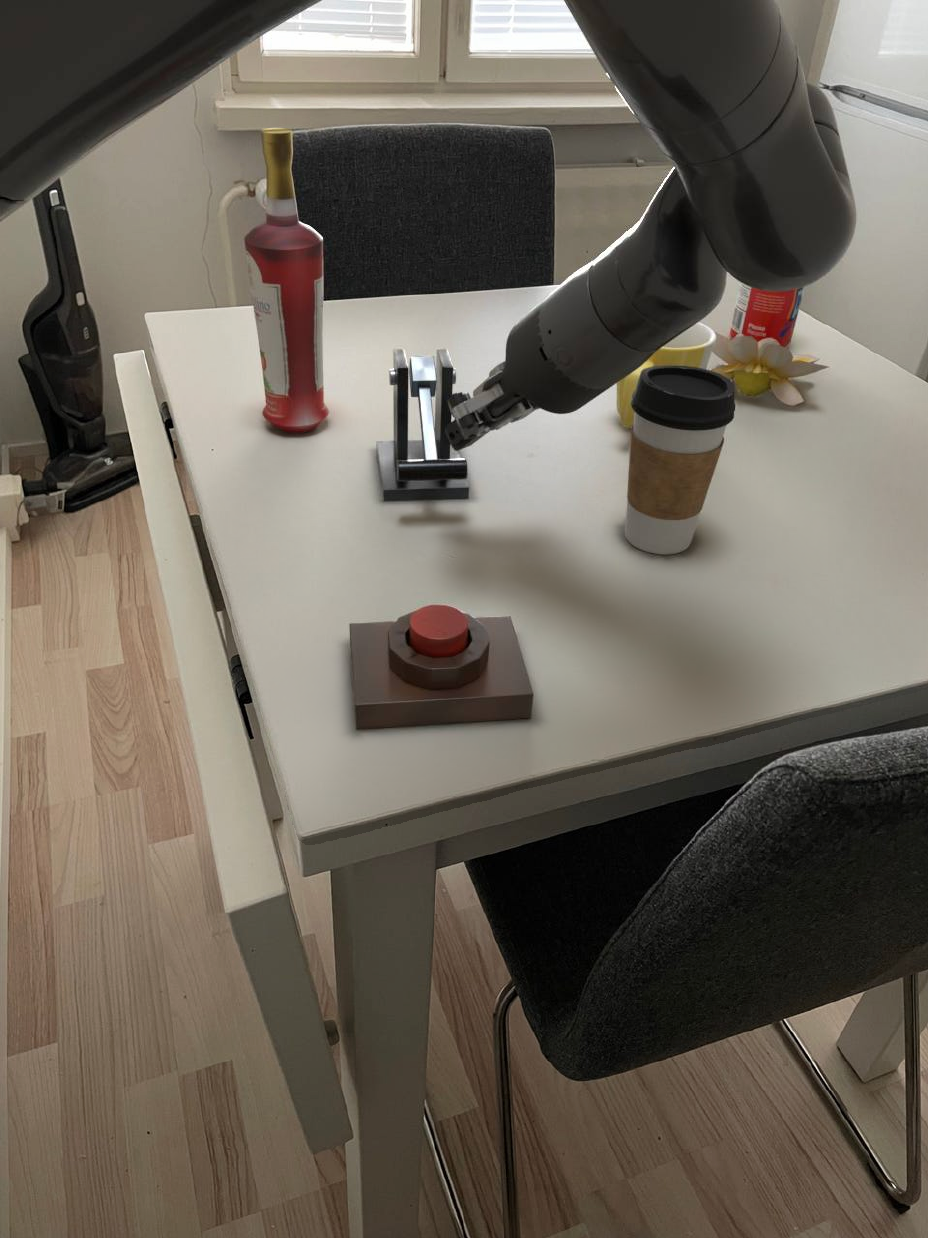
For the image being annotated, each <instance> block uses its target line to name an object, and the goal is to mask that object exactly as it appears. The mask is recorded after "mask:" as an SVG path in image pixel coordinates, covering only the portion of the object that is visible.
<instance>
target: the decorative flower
mask: <svg viewBox="0 0 928 1238" xmlns="http://www.w3.org/2000/svg"><path fill="white" fill-rule="evenodd" d="M714 333H715V334H716V341H715V344H714V347H713V350H712V353H713V354H714V355H715V356H716V357H718V358H719V359H720V360H722V361H723V362H725V363H726V365H722V366H718V367H716V368H712V369H709V370H710V371H713V372H716V373H719V374H721V375H723V376H725V377H727V378H728V379H729V380H731V381H732V380H733V381H734V383H735V385H736V387H737V389H738V391H739V392H740V393H741V394H743V395H745V396H747V397H753V398H757V397H758V396H761V395H762V394H764V393H766V392H768V391H769V390H771V391H772V392H773V394H774V395H775V397H776V398H777V399H778V400H779V401H780V402H782V403H784V404H785V405H789V406H795V405H798V404H801V403H803V402H804V399H803V397H802V395H801V393H800V392H799V390H798V389H797V388H796V386H795V385H794V383H793V382H792V380H790V379H794V378H795V379H797V378H800V377H805V376H809V375H811V374H814V373H816V372H820V371H823V370H824V369H828V368H830V366H828V365H824V364H819V363H816V362H818V361H820V360H821V358H819V357H817V356H814V355H812V354H807V353H798V354H794V355H793V354H792V351H790V350H789V348H787V347H782V346H780V344H779V343H778V341H777V340H775V339H773V338H765V339H763V340H761V341H759V342H757V341H756V340H755V339H754V338H753V337H750V336H744V335H743V334H741V333H739V334H737V335H736V337H734V338H733V339H730V338H728V337H727V336H724V335H723V334H720V333H719V332H716V331H714Z"/></svg>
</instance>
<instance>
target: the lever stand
mask: <svg viewBox="0 0 928 1238" xmlns="http://www.w3.org/2000/svg"><path fill="white" fill-rule="evenodd" d="M392 352H393V353H392V354H393V357H392V359H393V363H392V364H393V366H392V367H393V368H390V369H388V370H389V371H388V379H389V385H390V386H393V390H392V391H393V397H392V399H393V409H392V410H393V412H392V413H393V440H377V441H376V458H377V465H378V472H379V479H380V485H381V493H382V499H383V502H391V501H392V502H395V501H397V502H398V501H422V500H423V501H424V500H426V501H427V500H454V499H455V500H456V499H459V500H460V499H469V497H470V485H469V482H468V477H467V478H466V479H462V480H428V481H398V479H397V461H398V460H424V453H423V443H422V439H418V440H417V439H416V440H415V439H414V440H412V439H411V440H409V364H408V359H407V355H406V351H405V348H394V349H393V351H392ZM435 369H436V378H437V383H436V391H435V400H434V401H435V403H434V405H435V406H434V408H435V409H434V428H435V438H436V447H437V457H438V459H462V458H461V455H460V450H458V451H456V450H454V449H453V447H452V445H451V443H450V441H449V439H448V437H447V435H446V433H445V427H446V426H447V425H449V424H450V423H451V422H452V417H453V416H452V414H451V412H450V408H449V405H448V401H447V400H448V399H449V398H450V397H451V395H453V391H454V390H453V389H454V388H453V387H454V385H456V384H457V371H456V368H455V367H454V365H453V363H452V359H451V356H450V353H449V350H448V348H436V360H435Z"/></svg>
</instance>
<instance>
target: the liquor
mask: <svg viewBox="0 0 928 1238" xmlns="http://www.w3.org/2000/svg"><path fill="white" fill-rule="evenodd" d="M260 134H261V135H260V136H261V146H262V147H261V149H262V154H263V158H264V164H265V167H266V188H265V189H266V190H265V191H266V197H265V198H266V201H265V203H266V204H265V205H266V208H265V209H266V210H265V221H264V222H262V223H260V224H257V225H255V226H254V227H253V228H252V229H251V230H250V231H249V232H248V233H247V234H246V235H245V236H244V238H243V239H244V240H243V241H244V248H245V255H246V263H247V270H248V271H247V272H248V279H249V286H250V293H251V301H252V308H253V312H254V313H253V314H254V319H255V326H256V333H257V339H258V347H259V355H260V362H261V363H260V364H261V370H262V380H263V388H264V396H265V397H264V398H265V406H264V407H263V409H262V417H263V418H264V419H265V420H266V421H268V422H269V423H270V424H271V425H272V426H274V427H275V428H277V429H278V430H279V431H281V432H282V431H283V432H285V433H289V434H299V433H301V434H302V433H307V432H311V431H312V430H315V429H316V428H317V427H318V426H319V425H320V424H321V423H323V421H324V420H325V419H326V418H327V417H328V416H329V412H330V411H329V410H330V409H329V407H328V406H327V405H326V403H325V392H324V391H325V390H324V389H325V388H324V386H325V385H324V237H323V236H322V235H321V234H320V233H319V232H318V231H317V230H315V229H314V228H313V227H312V226H310V225H308V224H306V223H303V222H302V221H300V220H299V219H300V218H299V212H298V206H297V200H296V192H295V186H294V178H293V172H292V163H293V156H294V155H293V154H294V148H293V147H294V146H293V131H292V130H291V129H288V128H285V127H284V128H283V127H269V128H268V127H267V128H262V129H261V130H260Z"/></svg>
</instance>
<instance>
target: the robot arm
mask: <svg viewBox="0 0 928 1238" xmlns="http://www.w3.org/2000/svg"><path fill="white" fill-rule="evenodd" d="M321 1H322V0H0V223H1V222H2V221H4V220H5V219H6V218H8V217H9V216H11V215H12V214H13V213H15V212H16V211H17V210H19V209H20V208H23V206H24V205H26V204H27V203H29V202H30V201H31V200H32V199H34V198H36V197H37V196H38V195H39V194H41V193H42V192H44V191H45V190H46V189H47V188H48V187H51V185H53V184H54V183H55V182H56V181H57V180H59V179H60V178H61V177H63V176H64V175H65V174H66V173H67V172H69V171H70V170H71V169H72V168H73V167H74V166H76V165H77V164H78V163H80V162H81V161H83V160H84V159H85V158H86V157H88V156H89V155H90V154H91V153H93V152H94V151H95V150H96V149H98V148H99V147H101V146H102V145H104V144H105V143H107V142H108V141H109V140H111V139H112V138H114V137H115V136H116V135H119V133H121V132H122V131H124V130H125V129H127V128H128V127H130V126H131V125H133V124H135V123H136V122H137V121H139V120H140V119H142V118H143V117H145V116H146V115H148V114H149V113H150V112H152V111H153V110H155V109H157V108H158V107H159V106H161V105H163V104H164V103H165V102H167V101H168V100H170V99H171V98H173V97H174V96H175V95H177V94H179V93H180V92H182V91H183V90H185V89H186V88H188V87H189V86H191V85H192V84H194V83H195V82H196V81H197V80H199V79H200V78H202V77H204V76H205V75H207V74H208V73H209V72H210V71H213V70H214V69H215V68H217V66H219V65H221V64H222V63H223V62H225V61H227V59H229V58H230V57H232V56H233V55H235V54H236V53H238V52H239V51H241V50H243V49H244V48H246V47H247V46H248V45H250V44H252V43H253V42H254V41H256V40H257V39H259V38H261V37H262V36H263V35H265V34H267V33H268V32H270V31H272V30H273V29H275V28H277V27H279V26H281V25H282V24H283V23H285V22H287V21H288V20H290V19H292V18H293V17H295V16H297V15H299V14H300V13H302V12H304V11H305V10H307V9H309V8H311V7H313V6H314V5H316V4H318V3H320V2H321ZM563 2H564V4H565V5H566V7H567V8H568V11H569V13H570V15H571V16H572V17H573V19H574V21H575V22H576V25H577V26H578V28H579V30H580V31H581V33H582V35H583V36H584V38H585V40H586V42H587V44H588V46H589V47H590V49H591V50H592V52H593V54H594V55H595V57H596V59H597V60H598V62H599V64H600V65H601V67H602V69H603V70H604V72H605V74H606V75H607V77H608V78H609V80H610V81H611V83H612V85H613V87H614V88H615V89H616V91H617V92H618V94H619V95H620V97H621V98H622V99H623V101H624V103H625V104H626V105H627V106H628V108H629V110H630V111H631V112H632V114H633V116H634V117H636V119H637V120H638V122H639V123H640V124H641V126H642V127H643V128H644V130H645V131H646V132H647V134H648V135H649V137H650V138H651V139H652V141H653V143H654V144H656V146H657V148H658V149H659V150H660V151H661V152H662V154H663V155H664V156H665V157H666V158H667V160H669V162H670V163H671V164H672V166H673V168H672V169H671V171H670V172H669V174H668V175H667V177H666V178H665V179H664V181H663V183H662V184H661V185H660V187H659V188H658V190H657V191H656V193H655V194H654V196H653V198H652V200H651V201H650V203H649V205H648V206H647V208H646V210H645V212H644V213H643V215H642V217H640V219H639V221H638V222H637V223H636V224H634V226H633V227H632V228H630V229H629V230H628V231H626V232H625V233H624V234H623V235H622V236H621V237H619V238H618V239H617V240H616V241H614V243H612V244H611V245H610V246H609V247H608V248H607V249H606V250H605V251H603V252H602V253H601V254H600V255H599V256H597V257H596V258H595V259H593V260H592V261H591V262H589V263H588V264H586V265H584V266H583V267H581V268H579V269H578V270H577V271H575V272H574V273H573V274H571V275H570V276H569V277H567V278H566V279H565V280H564V281H563V282H562V283H561V284H559V285H558V287H556V288H555V289H554V290H553V291H552V292H550V293H549V294H548V295H547V296H546V297H544V299H543V300H541V301H540V302H539V303H538V304H537V305H536V306H535V307H533V308H532V309H531V310H530V311H529V312H528V313H526V314H525V315H523V317H522V318H521V319H519V321H517V323H515V324H514V326H513V327H512V328H511V330H510V331H509V333H508V336H507V339H506V344H505V359H504V361H502V362H500V363H498V364H496V366H495V367H493V369H491V370H490V371H489V373H488V377H487V378H486V379H485V380H484V381H482V383H481V384H479V385H478V386H477V387H476V388H475V389H474V390H472V397H471V395H470V393H469V392H465V393H463V392H462V391H461V392H454V393H452V395H451V397H450V398H449V399H448V400H447V401H448V405H449V408H450V412H451V414H452V417H453V418H454V419H453V420H451V423H450V424H449V425H447V426H446V427H445V433H446V435H447V437H448V439H449V441H450V443H451V445H452V447H453V449H454V450H456V451H461V450H463V449H466V448H468V447H470V446H472V445H474V444H475V443H476V442H478V441H479V440H480V439H481V438H483V437H484V436H486V435H487V434H488V433H490V432H491V431H498V430H500V429H502V428H503V427H505V426H507V425H509V424H510V423H511V424H513V423H516V422H518V421H520V420H523V419H525V418H526V417H528V416H530V414H532V413H533V412H535V411H537V410H540V409H541V410H543V411H546V412H548V413H551V414H555V415H566V414H567V415H568V414H571V413H574V412H576V411H578V410H580V409H581V408H583V407H584V406H585V405H587V404H588V403H590V402H591V401H593V400H594V399H595V398H597V397H598V396H600V395H601V394H603V393H604V392H606V391H608V390H609V389H611V388H612V387H613V386H615V385H617V383H618V382H619V381H620V380H622V379H623V378H625V377H626V376H628V375H629V374H631V373H632V372H634V371H635V370H636V369H638V368H639V367H640V366H641V365H643V364H644V363H645V362H646V361H647V360H648V359H649V358H650V357H651V356H652V355H653V354H654V353H655V352H656V351H658V350H659V349H660V348H661V347H663V346H664V345H666V344H667V343H669V342H670V341H672V340H673V339H674V338H676V337H677V336H679V335H680V334H682V333H683V332H685V331H686V330H687V329H689V328H691V327H692V326H693V325H695V324H696V323H698V322H699V323H700V322H701V321H702V320H703V319H705V318H706V317H707V316H708V315H709V314H710V313H712V312H713V311H714V309H716V308H717V306H718V305H719V304H720V302H721V300H722V298H723V296H724V293H725V290H726V286H727V277H728V276H727V275H728V274H729V276H731V277H732V278H734V279H735V280H737V281H738V282H739V283H740V282H741V283H743V284H745V285H747V286H749V287H752V288H755V289H758V290H763V291H770V292H784V291H791V290H795V289H799V288H802V287H805V288H806V287H808V286H809V285H812V284H813V283H815V282H817V281H819V280H820V279H822V278H824V277H825V276H827V275H828V274H829V273H830V272H831V271H833V269H834V268H835V267H836V266H837V265H838V264H839V263H840V262H841V260H842V259H843V258H844V256H845V254H846V253H847V251H848V250H849V248H850V246H851V244H852V241H853V239H854V237H855V236H854V235H855V232H856V228H857V207H856V200H855V196H854V192H853V187H852V183H851V179H850V174H849V171H848V167H847V162H846V157H845V154H844V150H843V145H842V142H841V136H840V132H839V127H838V122H837V118H836V115H835V111H834V110H833V107H832V104H831V102H830V100H829V98H828V97H827V95H826V94H825V93H824V91H823V90H822V89H820V88H819V87H818V86H817V85H815V84H813V83H812V82H809V81H806V78H805V73H804V69H803V66H802V65H803V64H802V61H801V57H800V55H799V52H798V49H797V47H796V45H795V41H794V39H793V37H792V34H791V32H790V30H789V28H788V26H787V23H786V20H785V19H784V17H783V15H782V12H781V9H780V7H779V5H778V3H777V1H776V0H563Z"/></svg>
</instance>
